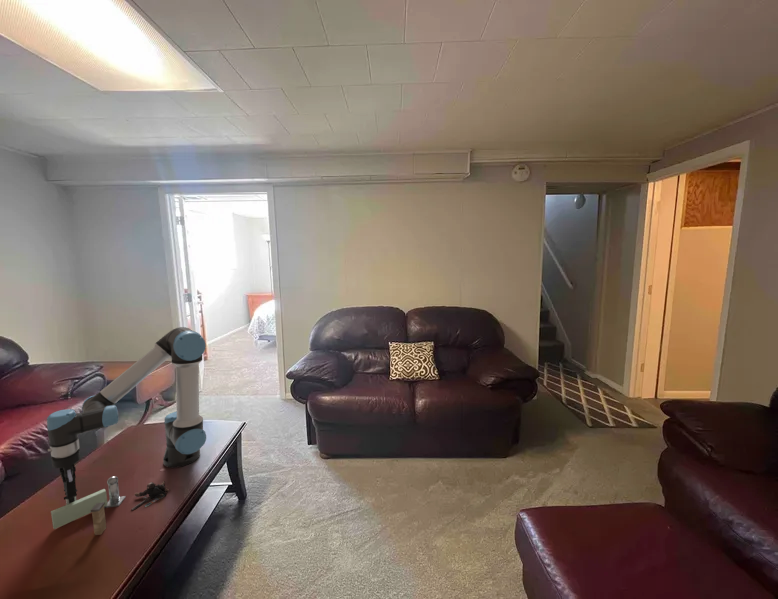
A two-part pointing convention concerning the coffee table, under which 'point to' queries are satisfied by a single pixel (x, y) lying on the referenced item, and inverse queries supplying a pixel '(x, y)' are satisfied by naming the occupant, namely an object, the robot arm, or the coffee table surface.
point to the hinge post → (114, 493)
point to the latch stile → (99, 518)
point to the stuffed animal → (152, 493)
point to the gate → (77, 508)
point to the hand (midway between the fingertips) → (72, 511)
